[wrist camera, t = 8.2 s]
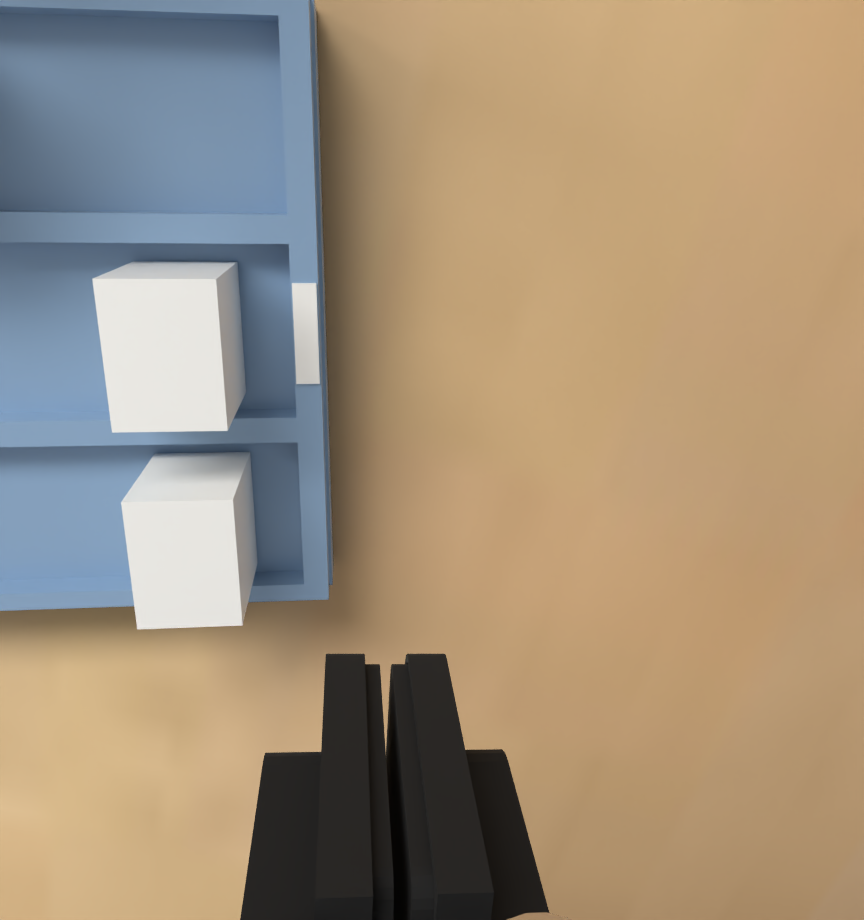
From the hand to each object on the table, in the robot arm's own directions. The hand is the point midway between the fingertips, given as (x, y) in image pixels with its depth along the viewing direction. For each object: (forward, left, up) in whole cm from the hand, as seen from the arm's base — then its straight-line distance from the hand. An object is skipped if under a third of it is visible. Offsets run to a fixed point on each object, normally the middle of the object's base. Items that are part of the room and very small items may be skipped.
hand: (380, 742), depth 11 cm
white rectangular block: (+5, -3, -16) cm, 17 cm away
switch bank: (+9, -3, -17) cm, 20 cm away
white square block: (+5, +3, -16) cm, 17 cm away
